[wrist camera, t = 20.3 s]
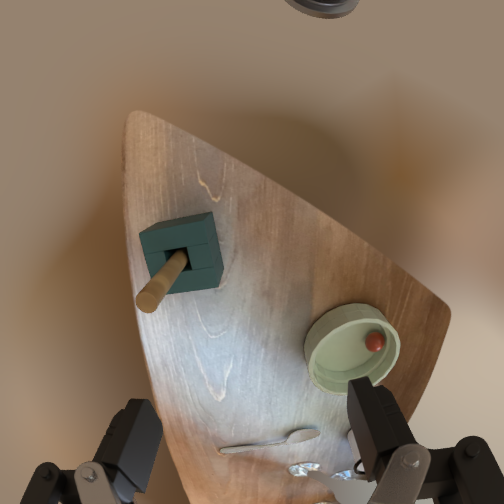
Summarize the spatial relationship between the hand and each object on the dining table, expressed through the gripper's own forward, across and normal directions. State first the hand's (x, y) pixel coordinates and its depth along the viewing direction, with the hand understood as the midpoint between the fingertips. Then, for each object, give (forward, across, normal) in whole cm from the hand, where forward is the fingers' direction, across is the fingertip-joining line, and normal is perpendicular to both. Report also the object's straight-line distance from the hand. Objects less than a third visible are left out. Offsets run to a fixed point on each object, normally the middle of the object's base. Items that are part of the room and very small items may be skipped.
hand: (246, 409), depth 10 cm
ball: (+24, -15, +17) cm, 33 cm away
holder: (+27, +8, -1) cm, 28 cm away
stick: (+27, +8, 0) cm, 28 cm away
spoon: (+27, +4, +40) cm, 48 cm away
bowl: (+27, -11, +17) cm, 34 cm away
